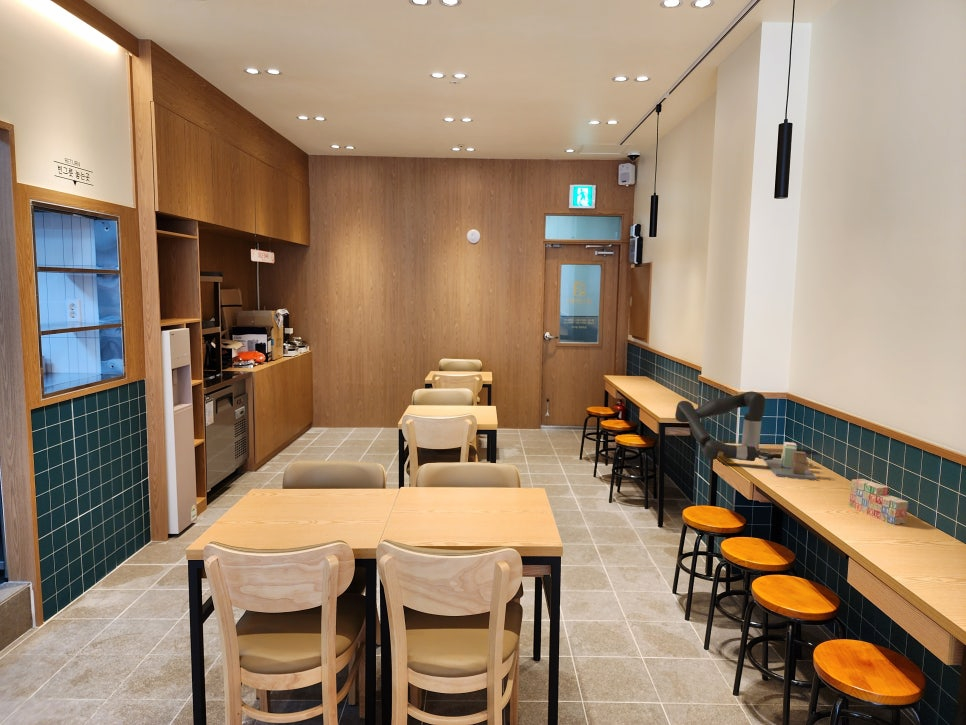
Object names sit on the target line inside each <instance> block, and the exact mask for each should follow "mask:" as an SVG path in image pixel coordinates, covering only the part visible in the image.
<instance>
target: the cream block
mask: <svg viewBox="0 0 966 725" xmlns="http://www.w3.org/2000/svg"><path fill="white" fill-rule="evenodd" d="M783 446H791V447H795V448H796V449H797V446H798V445H797V444H796V442H788V441H783Z"/></svg>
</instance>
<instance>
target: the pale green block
mask: <svg viewBox="0 0 966 725" xmlns="http://www.w3.org/2000/svg"><path fill="white" fill-rule="evenodd" d="M793 451H797V448H795V447H791V446H784V445H783V446H782V454H781V455H782V457H781V460H782V464H781V465H782V466H783V467H785V468H792V459H793Z"/></svg>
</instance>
